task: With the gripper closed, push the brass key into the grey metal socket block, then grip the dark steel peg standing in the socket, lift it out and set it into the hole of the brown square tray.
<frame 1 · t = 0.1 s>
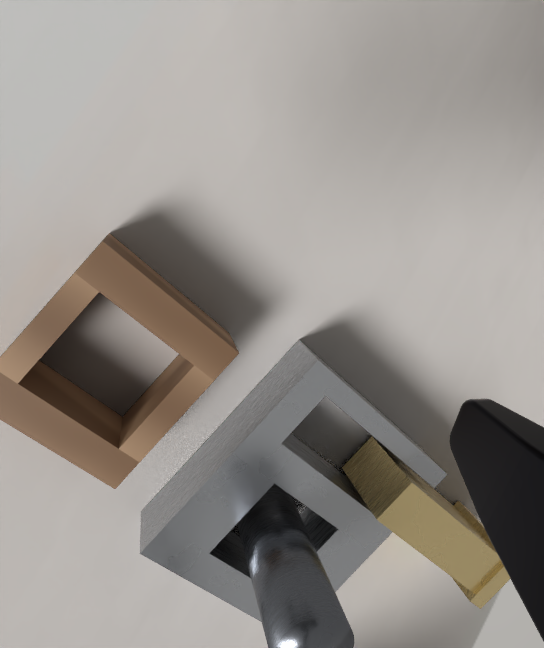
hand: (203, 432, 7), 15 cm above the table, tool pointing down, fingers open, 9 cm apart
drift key: (426, 517, 26), point 2 cm above the table, slide at 0.0 cm
socket: (287, 476, 26), on the table
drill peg: (262, 502, 27), resting in socket
brown square tray: (114, 350, 22), on the table
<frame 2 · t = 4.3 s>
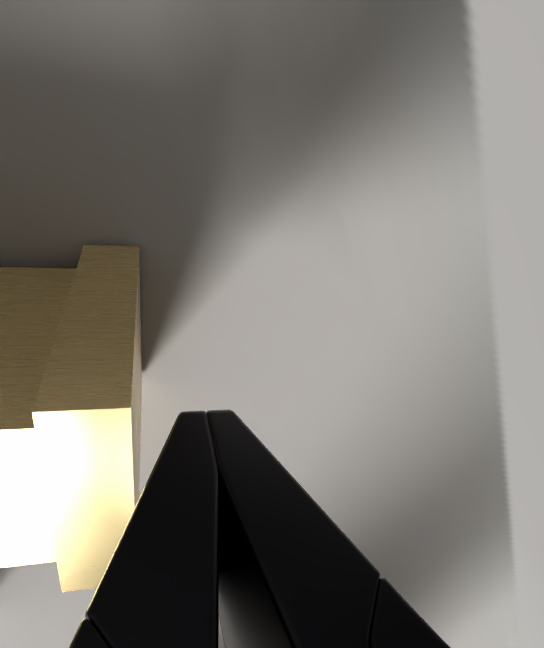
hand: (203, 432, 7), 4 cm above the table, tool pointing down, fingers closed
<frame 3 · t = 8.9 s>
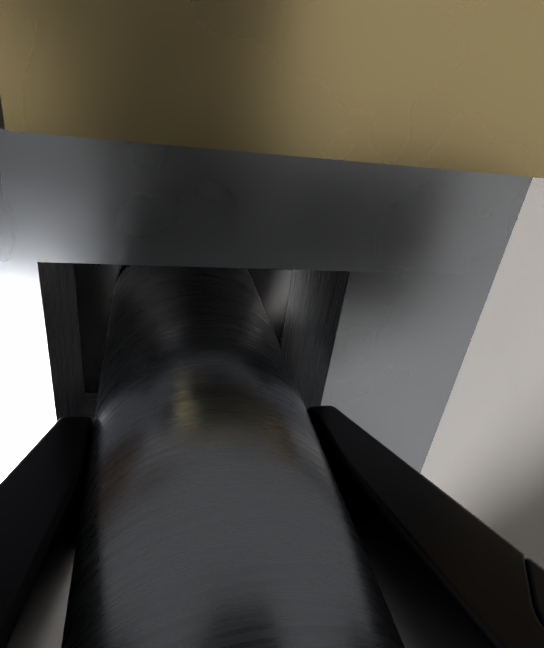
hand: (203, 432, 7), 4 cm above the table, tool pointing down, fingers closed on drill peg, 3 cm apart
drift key: (398, 42, 7), point 2 cm above the table, slide at 4.0 cm
socket: (190, 220, 10), on the table
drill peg: (186, 307, 11), resting in socket, touching gripper
when the fingers open (5 cm above the table, at t = 12.2 s): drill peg stays where it is, resting in brown square tray.
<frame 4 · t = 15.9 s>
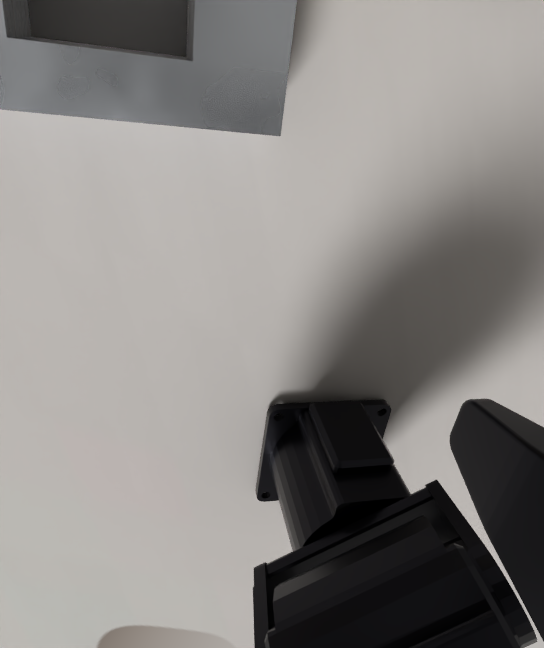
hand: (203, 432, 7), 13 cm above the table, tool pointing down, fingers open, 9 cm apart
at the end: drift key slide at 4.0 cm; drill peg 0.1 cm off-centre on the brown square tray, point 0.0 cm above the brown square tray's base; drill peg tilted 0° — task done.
